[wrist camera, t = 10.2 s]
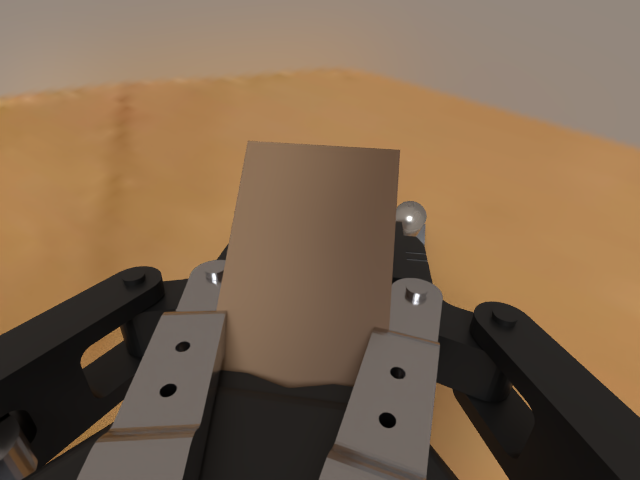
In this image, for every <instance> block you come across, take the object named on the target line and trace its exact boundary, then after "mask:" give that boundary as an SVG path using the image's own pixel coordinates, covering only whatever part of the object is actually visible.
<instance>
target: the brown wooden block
mask: <svg viewBox="0 0 640 480" xmlns="http://www.w3.org/2000/svg"><path fill="white" fill-rule="evenodd" d="M399 158H400V150H392V149H375V148H359V147H342V146H325V145H308V144H291V143H275V142H258V141H248V143H247V149H246V154H245V159H244V165H243V170H242V175H241V181H240V186H239V192H238V197H237V202H236V208H235V213H234V218H233V224H232V229H231V235H230V240H229V245H228V251H227V256H226V261H225V267H224V272H223V278H222V283H221V288H220V294H219V299H218V304H217V310H216V311H218V310H227V324H226V354H225V358H224V359H223V361H222V365H221V369H220V370H226V371H234V372H242V373H249V374H251V375H254V376H257V377H259V378H262V379H264V380H267V381H270V382H272V383H275V384H278V385H280V386H283V387H287V388H296V387H307V386H318V385H330V384H336V385H344V386H352V387H354V385H355V382H356V379H357V376H358V373H359V370H360V367H361V364H362V361H363V358H364V355H365V352H366V349H367V346H368V343H369V340H370V337H371V334H372V331H373V329H374V327H378V328H383V329H387V330H389V323H390V307H391V290H392V274H393V257H394V241H395V224H396V207H397V191H398V174H399Z"/></svg>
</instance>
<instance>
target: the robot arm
mask: <svg viewBox="0 0 640 480" xmlns="http://www.w3.org/2000/svg"><path fill="white" fill-rule="evenodd" d="M228 245H229V244H228ZM228 245H227V246H226V248H225V249H224V250H223V252H222V253H221V255H220V256H219V257H218V259H217V260H213V261H208V262H205V263H203V264H200V265H199V266H197V267H196V268H195V269H194V270H193V271H192V272H191V274H190V277H189V279H183V280H173V281H163V280H162V275H161V272H160V271H159V270H158V269H156V268H153V267H147V266H141V267H134V268H129V269H126V270H124V271H121V272H119V273H117V274H115V275H113V276H111V277H110V278H108V279H106V280H104V281H102V282H100V283H98V284H96V285H95V286H93V287H91V288H89V289H87V290H85V291H83V292H81V293H79V294H78V295H76V296H74V297H72V298H70V299H68V300H66V301H64V302H62V303H61V304H59V305H57V306H55V307H53V308H51V309H49V310H47V311H45V312H44V313H42V314H40V315H38V316H36V317H34V318H32V319H30V320H29V321H27V322H25V323H23V324H21V325H19V326H17V327H15V328H13V329H12V330H10V331H8V332H6V333H4V334H2V335H0V480H459V479H458V478H457V477H456V476H455V474H454V473H453V472H452V471H451V469H450V468H449V467H448V466H447V464H446V463H445V462H444V461H443V460H442V458H441V457H440V456H439V455H438V453H437V452H436V451H435V450H434V449H433V447H432V446H431V445H430V436H431V426H432V417H433V407H434V398H435V388H436V382H437V383H439V384H442V385H445V386H447V387H450V388H452V389H453V393H454V396H455V398H456V399H457V401H458V402H459V404H460V405H461V407H462V408H463V410H464V411H465V413H466V414H467V416H468V418H469V419H470V421H471V422H472V424H473V425H474V427H475V428H476V430H477V431H478V433H479V434H480V436H481V437H482V439H483V440H484V442H485V443H486V445H487V446H488V448H489V449H490V451H491V452H492V454H493V455H494V457H495V458H496V460H497V462H498V463H499V465H500V466H501V468H502V469H503V471H504V472H505V474H506V475H507V477H508V478H509V480H640V417H639V416H637V415H636V414H635V413H634V412H633V411H632V410H631V409H630V408H629V407H628V406H626V405H625V404H624V403H623V402H622V401H621V400H620V399H619V398H618V397H617V396H615V395H614V394H613V393H612V392H611V391H610V390H609V389H608V388H607V387H606V386H604V385H603V384H602V383H601V382H600V381H599V380H598V379H597V378H596V377H595V376H593V375H592V374H591V373H590V372H589V371H588V370H587V369H586V368H585V367H584V366H582V365H581V364H580V363H579V362H578V361H577V360H576V359H575V358H574V357H573V356H571V355H570V354H569V353H568V352H567V351H566V350H565V349H564V348H563V347H562V346H560V345H559V344H558V343H557V342H556V341H555V340H554V339H553V338H552V337H551V336H549V335H548V334H547V333H546V332H545V331H544V330H543V329H542V328H541V327H540V326H538V325H537V324H536V323H535V322H534V321H533V320H532V319H531V318H530V317H529V316H527V315H526V314H525V313H524V312H522V311H521V310H519V309H517V308H515V307H513V306H511V305H508V304H505V303H500V302H484V303H481V304H479V305H478V306H477V307H476V308H475V310H474V313H473V312H470V311H467V310H464V309H460V308H457V307H455V306H452V305H450V304H448V303H447V302H445V301H443V296H442V293H441V291H440V290H439V289H438V288H437V287H436V286H435V285H433V284H432V279H431V275H430V270H429V265H428V262H427V256H426V252H425V247H424V244H423V243H422V242H421V241H420V240H419V239H418V238H417V237H416V236H404V234H403V226H402V222H400V221H396V224H395V241H394V257H393V274H392V290H391V307H390V323H389V330H387V329H383V328H378V327H374V329H373V331H372V334H371V337H370V340H369V343H368V346H367V349H366V352H365V355H364V358H363V361H362V364H361V367H360V370H359V373H358V376H357V379H356V382H355V385H354V387H352V386H344V385H336V384H330V385H318V386H307V387H296V388H287V387H283V386H280V385H278V384H275V383H272V382H270V381H267V380H264V379H262V378H259V377H257V376H254V375H251V374H249V373H242V372H234V371H226V370H220V369H221V365H222V361H223V359H224V358H225V354H226V324H227V310H218V311H216V310H217V304H218V299H219V294H220V288H221V283H222V278H223V272H224V267H225V261H226V256H227V251H228ZM118 327H120V329H121V332H122V335H123V338H124V341H122V342H121V343H120V344H118V345H117V346H115V347H114V348H112V349H111V350H109V351H108V352H107V353H105V354H104V355H102V356H101V357H99V358H98V359H96V360H95V361H94V362H92V363H91V364H89V365H88V366H86V367H85V368H83V369H82V367H81V364H80V361H81V357H82V355H83V353H84V352H85V350H86V349H87V348H88V347H89V346H91V345H92V344H94V343H95V342H97V341H98V340H100V339H101V338H103V337H104V336H106V335H108V334H109V333H111V332H112V331H114V330H115V329H117V328H118ZM512 386H514V387H515V388H516V389H517V390H518V391H519V393H520V394H521V395H522V396H523V397H524V399H525V400H526V401H527V402H528V404H529V405H530V407H531V409H532V410H531V409H530V408H529V407H528V406H527V404H526V403H525V402H524V401H523V400H522V398H521V397H520V396H519V395H518V394H517V392H516V391H515V390H514V389H513V388H512ZM122 400H124V401H123V403H122V405H121V407H120V409H119V412H118V414H117V416H116V418H115V421H114V422H113V423H111V424H110V425H108V426H107V427H105V428H103V429H102V430H100V431H99V432H97V433H95V434H94V435H92V436H91V437H89V438H87V439H86V440H84V441H83V442H81V443H79V444H78V445H76V446H75V447H73V448H71V449H70V450H68V451H67V452H65V453H63V454H62V455H60V456H58V457H57V458H55V459H54V460H52V461H50V460H51V459H52V458H53V457H55V456H56V455H57V454H58V453H59V452H61V451H62V450H63V449H64V448H66V447H67V446H68V445H69V444H70V443H72V442H73V441H74V440H75V439H76V438H78V437H79V436H80V435H81V434H82V433H84V432H85V431H86V430H87V429H89V428H90V427H91V426H92V425H93V424H95V423H96V422H97V421H98V420H99V419H101V418H102V417H103V416H104V415H105V414H107V413H108V412H109V411H110V410H111V409H113V408H114V407H115V406H116V405H118V404H119V403H120V402H121V401H122ZM49 461H50V462H49ZM47 462H49V463H47ZM46 463H47V464H46ZM45 464H46V465H45Z"/></svg>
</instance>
